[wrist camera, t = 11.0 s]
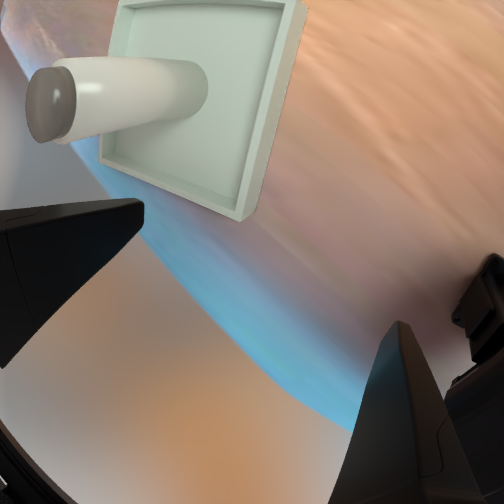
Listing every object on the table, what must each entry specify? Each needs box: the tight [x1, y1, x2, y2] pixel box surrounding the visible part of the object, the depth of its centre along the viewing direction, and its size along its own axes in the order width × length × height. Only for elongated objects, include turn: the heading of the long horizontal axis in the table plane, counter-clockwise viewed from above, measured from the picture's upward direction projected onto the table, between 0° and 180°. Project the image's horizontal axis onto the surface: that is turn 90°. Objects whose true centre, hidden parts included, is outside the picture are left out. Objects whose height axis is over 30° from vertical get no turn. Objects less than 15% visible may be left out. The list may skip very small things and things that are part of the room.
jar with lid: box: [26, 57, 208, 145], centre depth 16 cm, size 5×5×12 cm
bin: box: [98, 0, 309, 222], centre depth 20 cm, size 16×16×2 cm
